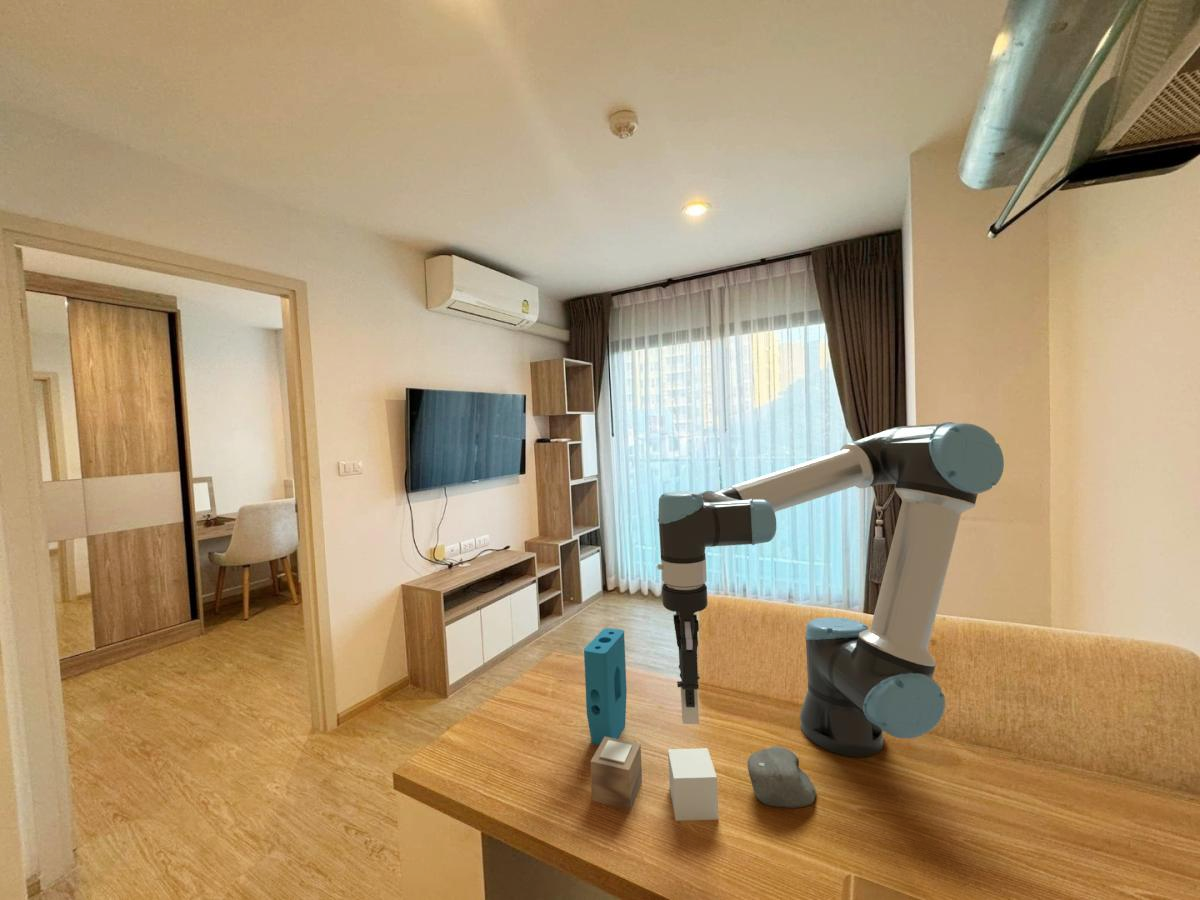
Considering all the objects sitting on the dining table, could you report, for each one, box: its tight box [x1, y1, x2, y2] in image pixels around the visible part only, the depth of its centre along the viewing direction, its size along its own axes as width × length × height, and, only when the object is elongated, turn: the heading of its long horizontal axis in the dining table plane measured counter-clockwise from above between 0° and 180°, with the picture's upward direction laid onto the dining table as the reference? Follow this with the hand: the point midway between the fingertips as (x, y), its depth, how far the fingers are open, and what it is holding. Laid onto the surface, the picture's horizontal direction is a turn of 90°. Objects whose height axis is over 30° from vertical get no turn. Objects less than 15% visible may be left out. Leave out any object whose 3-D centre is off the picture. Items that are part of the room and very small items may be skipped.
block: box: [583, 627, 628, 746], centre depth 96 cm, size 12×5×20 cm, turn 157°
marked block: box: [590, 737, 643, 812], centre depth 80 cm, size 7×7×7 cm
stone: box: [747, 745, 818, 809], centre depth 78 cm, size 9×9×10 cm
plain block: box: [667, 747, 720, 822], centre depth 77 cm, size 7×7×7 cm
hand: (690, 721), depth 77 cm, fingers closed
